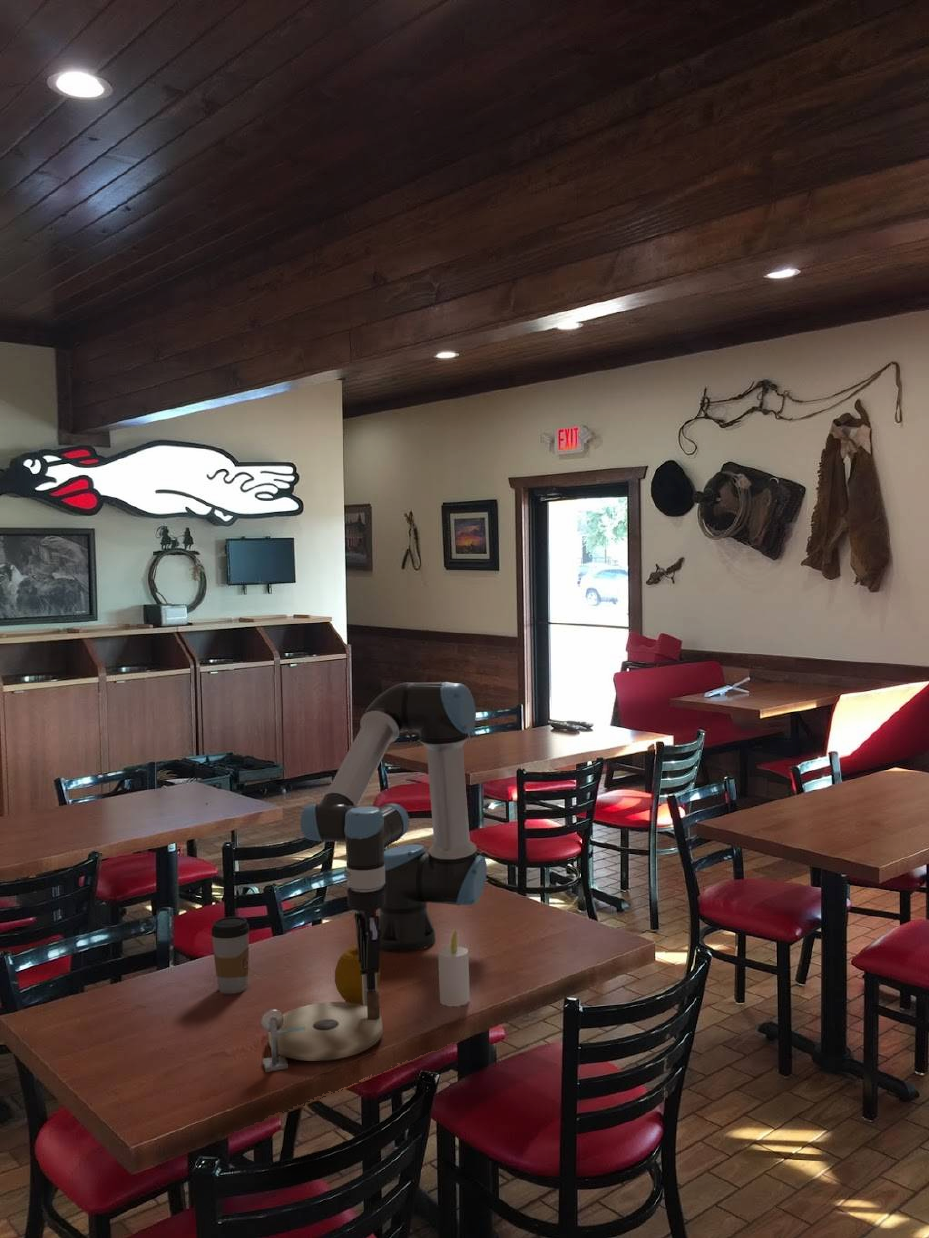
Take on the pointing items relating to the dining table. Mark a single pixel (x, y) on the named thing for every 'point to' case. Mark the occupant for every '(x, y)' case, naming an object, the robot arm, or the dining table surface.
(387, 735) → the robot arm
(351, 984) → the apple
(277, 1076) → the dining table surface
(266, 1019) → the indicator stand
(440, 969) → the candle
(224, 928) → the coffee cup
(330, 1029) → the turntable
